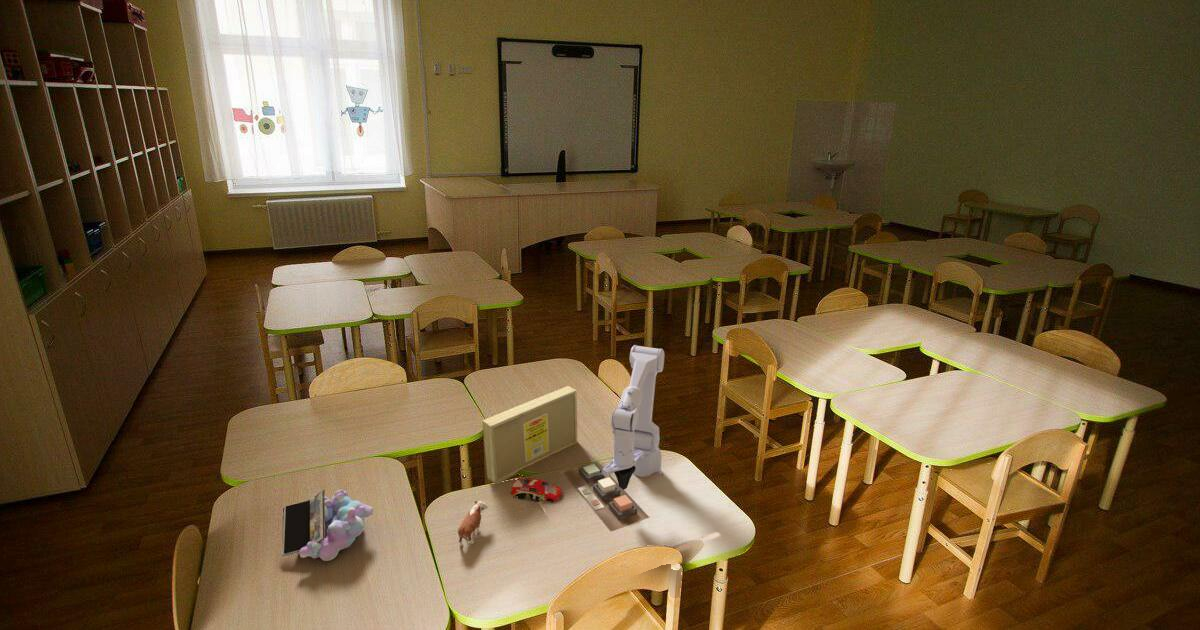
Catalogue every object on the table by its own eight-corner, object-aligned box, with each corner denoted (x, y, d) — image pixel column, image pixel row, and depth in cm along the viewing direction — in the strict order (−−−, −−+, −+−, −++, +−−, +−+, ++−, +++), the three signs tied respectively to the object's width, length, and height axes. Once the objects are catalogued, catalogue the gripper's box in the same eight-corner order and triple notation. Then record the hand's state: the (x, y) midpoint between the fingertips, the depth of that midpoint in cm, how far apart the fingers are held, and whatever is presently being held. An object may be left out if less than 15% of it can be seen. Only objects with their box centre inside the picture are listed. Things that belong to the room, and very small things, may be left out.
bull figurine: (491, 521, 185) (489, 498, 182) (467, 552, 173) (465, 528, 171) (478, 518, 187) (476, 495, 184) (453, 549, 175) (451, 524, 172)
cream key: (609, 483, 199) (609, 477, 198) (615, 490, 195) (615, 484, 195) (597, 487, 197) (597, 480, 196) (603, 494, 194) (604, 487, 193)
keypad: (597, 464, 213) (597, 456, 212) (649, 519, 186) (649, 511, 185) (562, 474, 207) (562, 467, 206) (610, 534, 181) (610, 525, 180)
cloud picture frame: (392, 522, 178) (362, 466, 177) (330, 569, 160) (296, 507, 159) (351, 534, 189) (323, 481, 188) (288, 579, 170) (257, 521, 169)
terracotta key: (625, 501, 191) (625, 494, 190) (632, 509, 187) (632, 502, 186) (613, 505, 189) (613, 498, 188) (620, 513, 185) (620, 506, 185)
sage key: (594, 470, 207) (594, 463, 206) (599, 476, 204) (599, 470, 203) (583, 473, 206) (583, 467, 205) (588, 480, 202) (588, 473, 201)
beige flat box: (569, 439, 227) (568, 385, 219) (578, 444, 224) (577, 389, 216) (486, 478, 205) (482, 420, 197) (494, 485, 202) (490, 425, 194)
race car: (566, 494, 198) (565, 481, 196) (558, 507, 192) (558, 494, 190) (517, 485, 202) (516, 472, 200) (509, 497, 196) (508, 484, 194)
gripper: (632, 432, 188) (631, 471, 193) (595, 450, 179) (595, 491, 184) (649, 442, 183) (648, 482, 188) (612, 461, 174) (611, 502, 179)
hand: (623, 487), depth 185 cm, fingers closed
